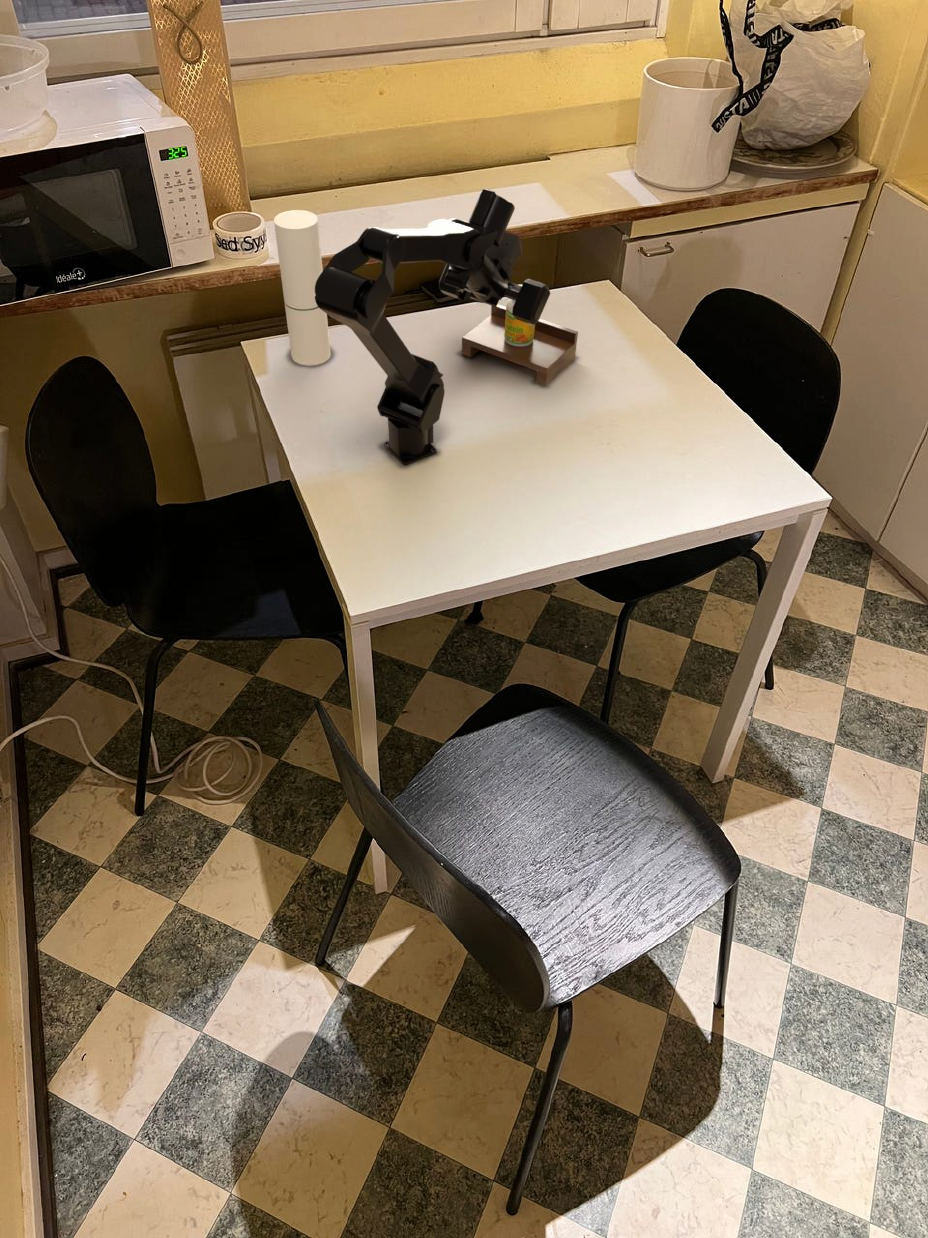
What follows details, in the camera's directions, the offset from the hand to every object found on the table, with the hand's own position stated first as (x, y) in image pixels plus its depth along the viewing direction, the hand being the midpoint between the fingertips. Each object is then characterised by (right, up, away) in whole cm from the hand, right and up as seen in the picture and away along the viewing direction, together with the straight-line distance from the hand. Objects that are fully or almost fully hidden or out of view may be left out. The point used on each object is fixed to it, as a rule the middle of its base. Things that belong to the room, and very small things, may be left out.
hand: (509, 307), depth 158 cm
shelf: (+2, -5, +11) cm, 13 cm away
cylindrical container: (-36, -5, +10) cm, 38 cm away
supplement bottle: (+2, -3, +9) cm, 9 cm away
